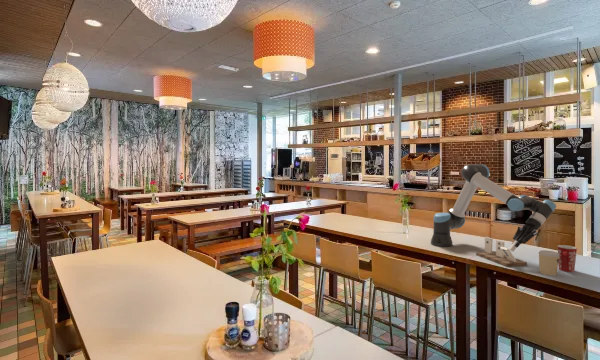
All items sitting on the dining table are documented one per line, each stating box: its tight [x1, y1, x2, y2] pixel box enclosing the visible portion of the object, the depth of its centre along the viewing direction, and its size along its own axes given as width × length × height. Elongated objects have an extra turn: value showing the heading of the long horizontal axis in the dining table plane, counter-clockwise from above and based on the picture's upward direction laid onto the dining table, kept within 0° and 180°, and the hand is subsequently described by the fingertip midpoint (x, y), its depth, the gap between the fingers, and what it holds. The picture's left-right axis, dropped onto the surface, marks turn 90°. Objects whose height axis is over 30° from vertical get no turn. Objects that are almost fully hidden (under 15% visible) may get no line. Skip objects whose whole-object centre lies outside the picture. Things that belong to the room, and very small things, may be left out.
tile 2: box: [495, 239, 505, 258], centre depth 217 cm, size 5×2×10 cm, turn 11°
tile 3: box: [500, 246, 517, 262], centre depth 206 cm, size 5×2×10 cm
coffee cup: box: [538, 249, 559, 277], centre depth 191 cm, size 9×9×12 cm
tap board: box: [475, 250, 528, 268], centre depth 217 cm, size 26×14×2 cm, turn 11°
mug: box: [556, 244, 578, 273], centre depth 195 cm, size 13×9×14 cm
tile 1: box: [484, 236, 493, 254], centre depth 227 cm, size 5×2×10 cm, turn 11°
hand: (510, 249), depth 206 cm, fingers closed
